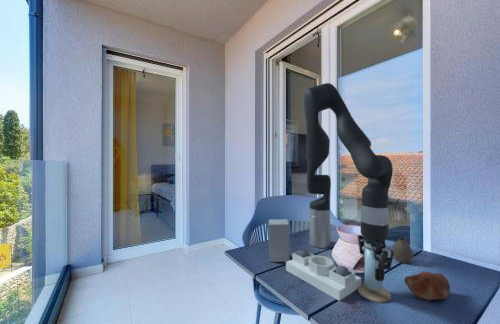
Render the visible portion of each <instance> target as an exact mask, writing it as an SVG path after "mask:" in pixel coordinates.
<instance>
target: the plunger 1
mask: <svg viewBox="0 0 500 324" xmlns="http://www.w3.org/2000/svg"><path fill="white" fill-rule="evenodd" d="M297 252H298V255H299V256H301V257H303V258H305V257H307V256H308V252H309V250H307V249H304V248H303V249H302V248H300V249H299V250H297Z"/></svg>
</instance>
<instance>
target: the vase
mask: <svg viewBox="0 0 500 324" xmlns="http://www.w3.org/2000/svg"><path fill="white" fill-rule="evenodd" d="M391 251H393V253H394V255H393V258H394V259H395V261H397V262H398V261H399V263H401V264H402V263H403V264H408V263H409V262H411V261H412V259H413V257H414V254H413V253H414V252H413V249H412V247H411V245H410V244H409V243H408V241H407V240H406V239H405V238H398V239H397V241H395V242H394V244H393V245H392V247H391Z"/></svg>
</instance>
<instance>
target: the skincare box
mask: <svg viewBox="0 0 500 324" xmlns="http://www.w3.org/2000/svg"><path fill="white" fill-rule="evenodd" d="M268 243H269V244H268V246H269V247H268V248H269V249H268V250H269V263H286V262H287V261H290V260H291V252H290V251H291V250H290V248H291V247H290V243H291V242H290V222H289V219H285V218H284V219H268Z"/></svg>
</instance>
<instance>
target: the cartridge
mask: <svg viewBox="0 0 500 324" xmlns="http://www.w3.org/2000/svg"><path fill="white" fill-rule="evenodd" d="M364 247H365V270H364V281H363V282H364V284H365V286H366V287H367V288H369V289H372V290H376V291H379V290H382V287H383V281H377V280H376V279H375V268H376V265H375V260H373V258H372V247H371V246H370V245H369V244H367V243H365V242H364V246H363V248H364ZM373 249H374V250H375V251H376V247H373ZM376 257H382V255H376ZM380 262H381V260H379V264H380Z"/></svg>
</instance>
